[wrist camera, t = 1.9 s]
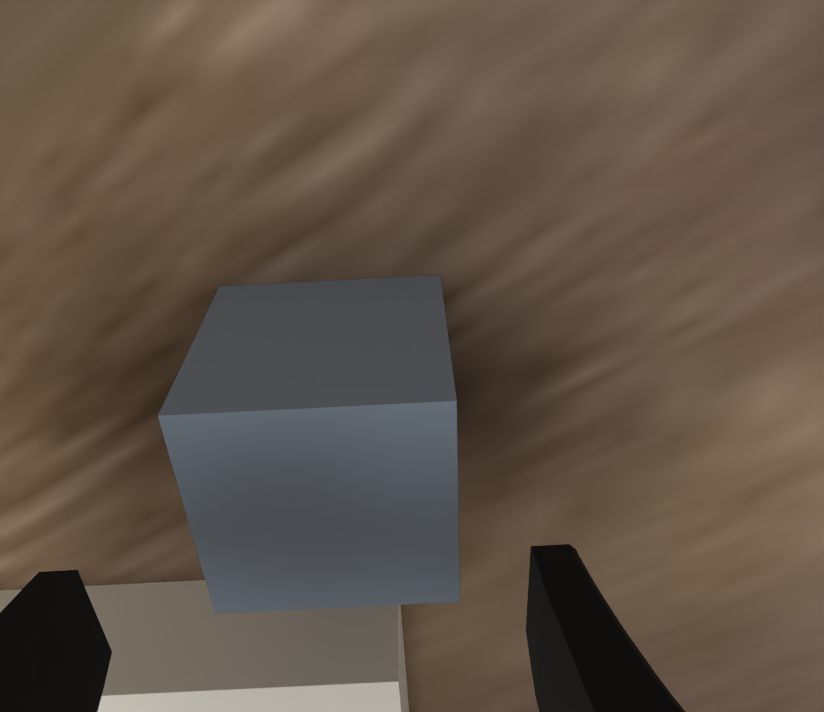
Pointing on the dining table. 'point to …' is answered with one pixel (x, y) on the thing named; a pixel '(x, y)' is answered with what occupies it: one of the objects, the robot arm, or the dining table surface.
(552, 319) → the dining table surface
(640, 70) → the dining table surface
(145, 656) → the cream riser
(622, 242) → the dining table surface
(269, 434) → the blue cube
